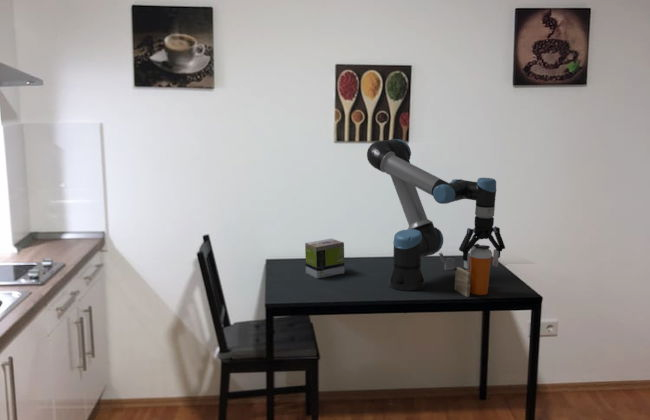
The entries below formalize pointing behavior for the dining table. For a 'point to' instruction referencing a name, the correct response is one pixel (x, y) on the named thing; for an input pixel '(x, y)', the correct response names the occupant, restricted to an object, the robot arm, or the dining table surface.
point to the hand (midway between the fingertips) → (480, 266)
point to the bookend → (462, 281)
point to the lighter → (447, 262)
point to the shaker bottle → (480, 269)
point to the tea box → (324, 258)
